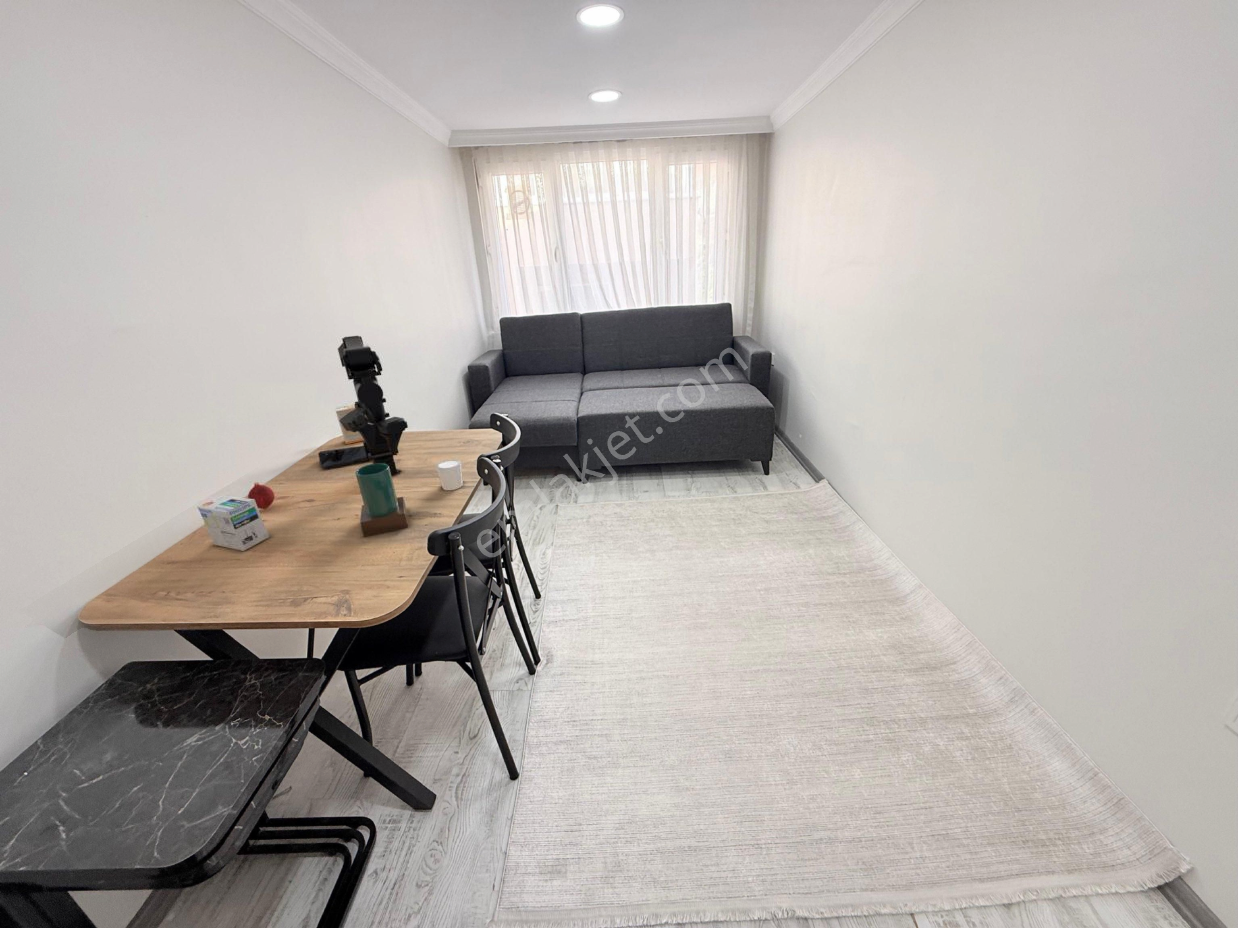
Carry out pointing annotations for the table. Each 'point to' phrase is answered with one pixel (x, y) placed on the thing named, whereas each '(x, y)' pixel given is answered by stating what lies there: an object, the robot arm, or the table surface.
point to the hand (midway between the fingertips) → (383, 451)
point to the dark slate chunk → (342, 456)
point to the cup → (377, 489)
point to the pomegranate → (261, 495)
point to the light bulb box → (233, 522)
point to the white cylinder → (450, 474)
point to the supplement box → (348, 435)
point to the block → (384, 520)
